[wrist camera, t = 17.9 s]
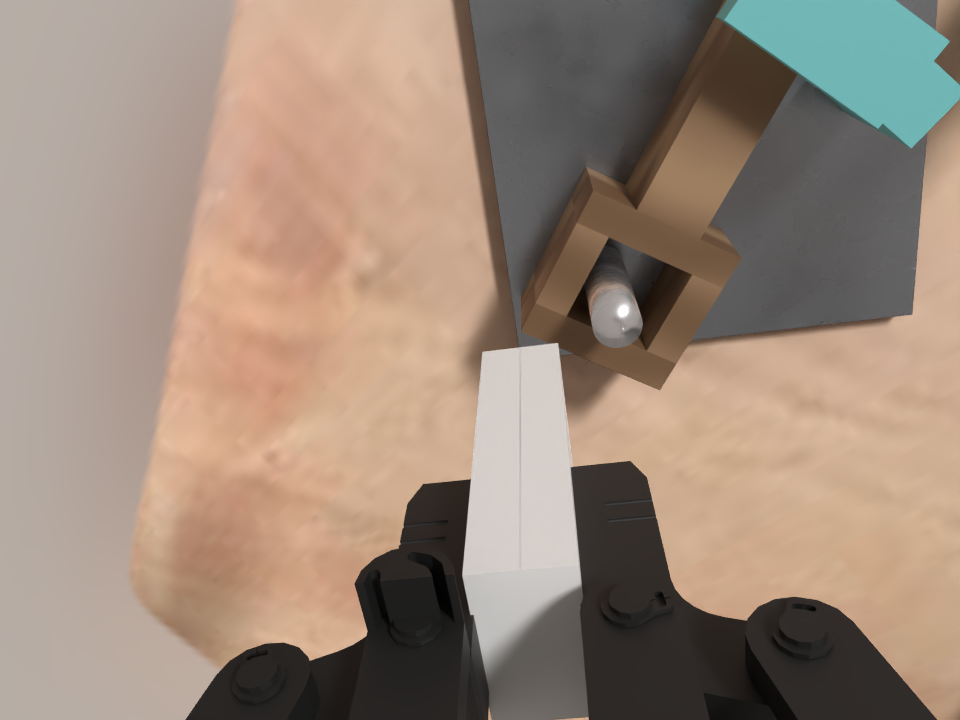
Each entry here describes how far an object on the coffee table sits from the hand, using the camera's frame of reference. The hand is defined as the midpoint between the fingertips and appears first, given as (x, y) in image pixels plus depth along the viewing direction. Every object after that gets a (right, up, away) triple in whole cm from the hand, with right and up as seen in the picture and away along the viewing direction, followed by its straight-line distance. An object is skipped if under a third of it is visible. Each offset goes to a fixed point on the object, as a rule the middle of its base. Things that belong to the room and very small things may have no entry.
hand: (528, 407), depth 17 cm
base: (+9, +11, +21) cm, 26 cm away
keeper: (+12, +15, +19) cm, 27 cm away
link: (+8, +10, +21) cm, 24 cm away
